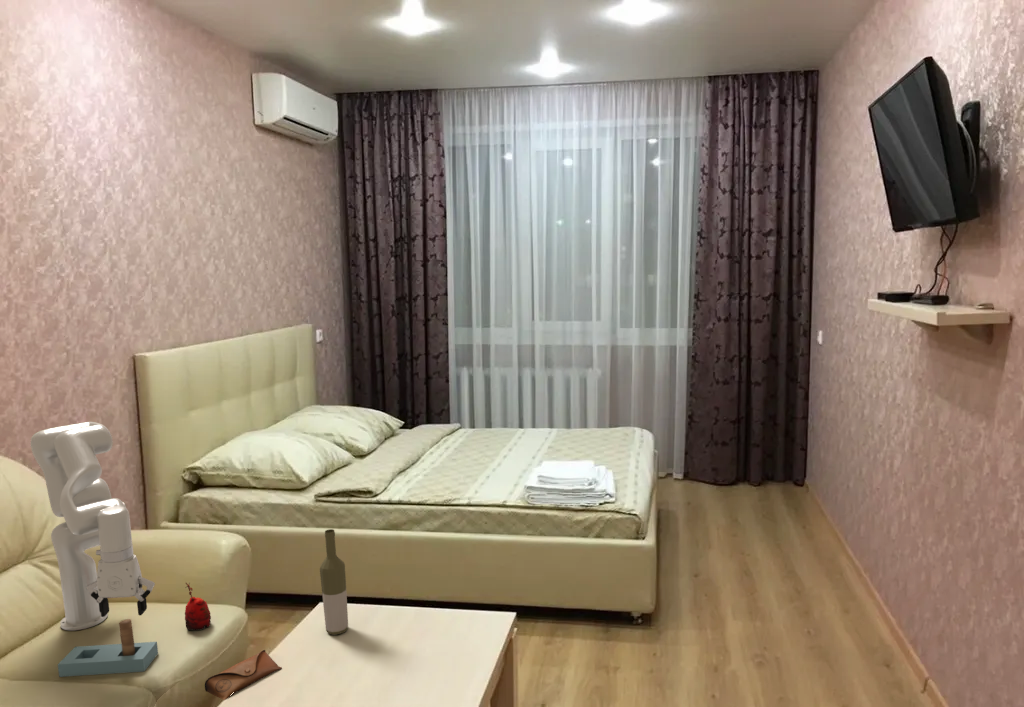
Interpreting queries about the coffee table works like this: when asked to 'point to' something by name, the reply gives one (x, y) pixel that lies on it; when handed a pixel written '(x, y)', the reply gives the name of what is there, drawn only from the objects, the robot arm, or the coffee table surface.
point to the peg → (127, 637)
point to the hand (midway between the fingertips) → (123, 613)
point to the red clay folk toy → (196, 613)
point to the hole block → (107, 659)
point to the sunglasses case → (241, 675)
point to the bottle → (334, 588)
